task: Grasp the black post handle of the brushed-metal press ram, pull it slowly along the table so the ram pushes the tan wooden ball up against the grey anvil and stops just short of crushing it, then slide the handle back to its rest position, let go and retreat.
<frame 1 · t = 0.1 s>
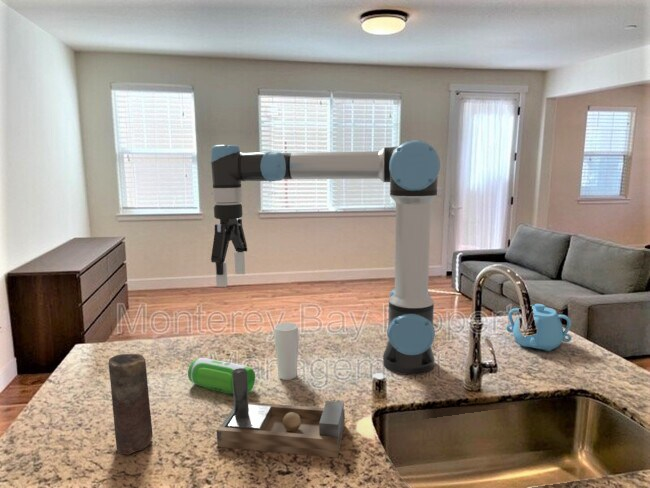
hand: (231, 279, 127), 28 cm above the worktop, fingers open, 13 cm apart
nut: (291, 421, 101), point 3 cm above the worktop, touching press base
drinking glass: (287, 377, 130), on the worktop
decorative pot: (536, 344, 150), on the worktop
candle: (135, 445, 99), on the worktop
ram: (249, 398, 101), point 8 cm above the worktop, slide at 0.0 cm
speaker: (222, 389, 124), on the worktop
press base: (283, 435, 102), on the worktop
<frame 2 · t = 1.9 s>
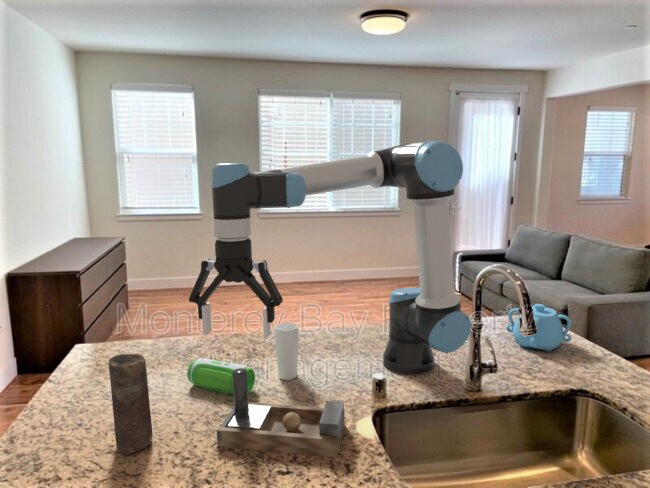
hand: (237, 334, 99), 23 cm above the worktop, fingers open, 13 cm apart
nothing on the worktop moved.
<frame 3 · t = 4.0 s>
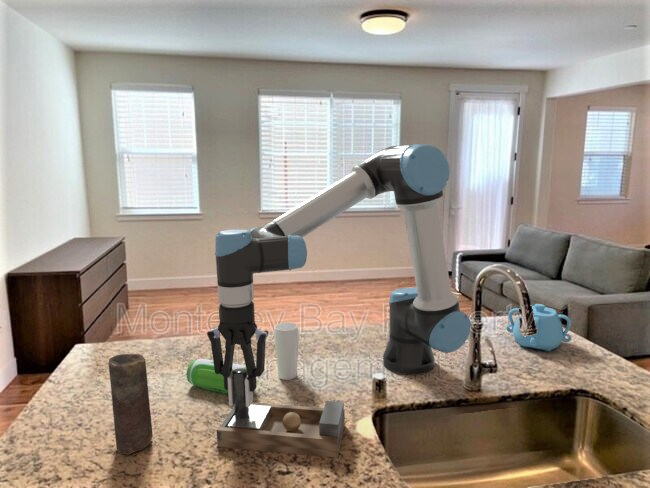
hand: (241, 403, 102), 7 cm above the worktop, fingers closed on ram, 3 cm apart
ram: (249, 398, 101), point 8 cm above the worktop, slide at 0.0 cm, touching gripper
everything else where it was.
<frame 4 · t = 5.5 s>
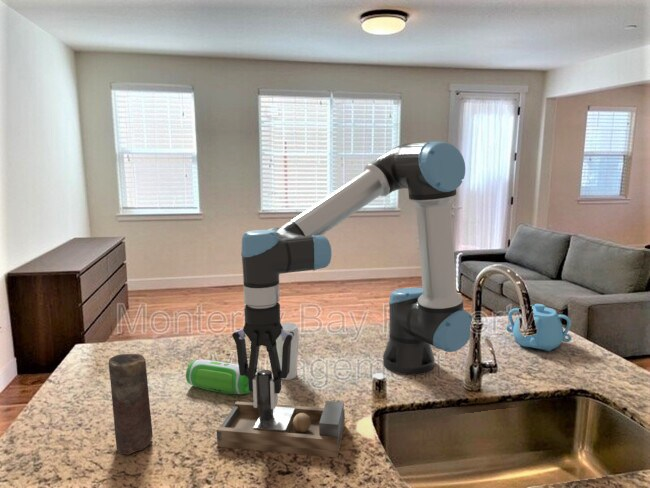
hand: (265, 404, 101), 7 cm above the worktop, fingers closed on ram, 3 cm apart
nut: (301, 422, 100), point 3 cm above the worktop, tilted 64°, touching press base
ram: (274, 400, 101), point 8 cm above the worktop, slide at 5.7 cm, touching gripper
everything else where it was.
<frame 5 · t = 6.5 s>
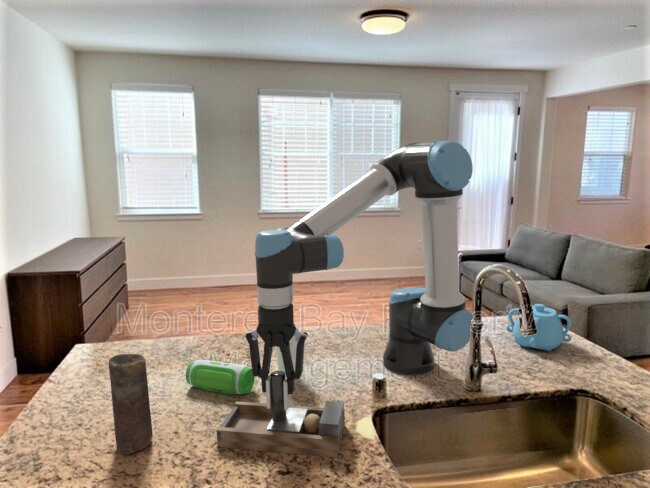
hand: (278, 405, 101), 7 cm above the worktop, fingers closed on ram, 3 cm apart
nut: (312, 423, 100), point 3 cm above the worktop, tilted 132°, touching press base
ram: (287, 401, 100), point 8 cm above the worktop, slide at 8.7 cm, touching gripper
everything else where it was.
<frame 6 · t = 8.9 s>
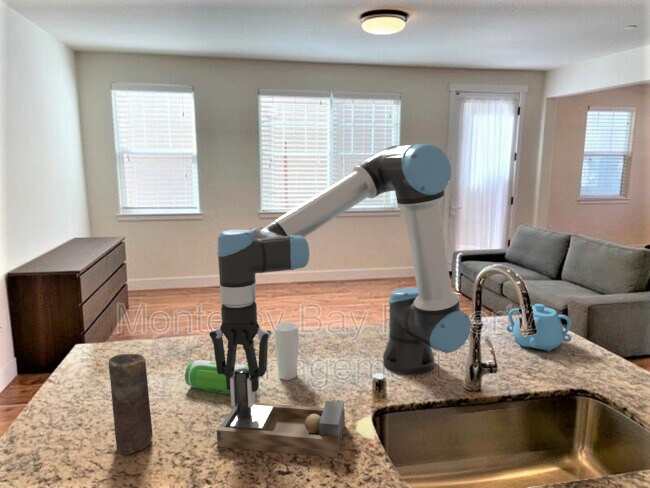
hand: (243, 403, 102), 7 cm above the worktop, fingers closed on ram, 3 cm apart
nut: (314, 423, 100), point 3 cm above the worktop, tilted 142°, touching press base
ram: (251, 399, 101), point 8 cm above the worktop, slide at 0.5 cm, touching gripper
everything else where it was.
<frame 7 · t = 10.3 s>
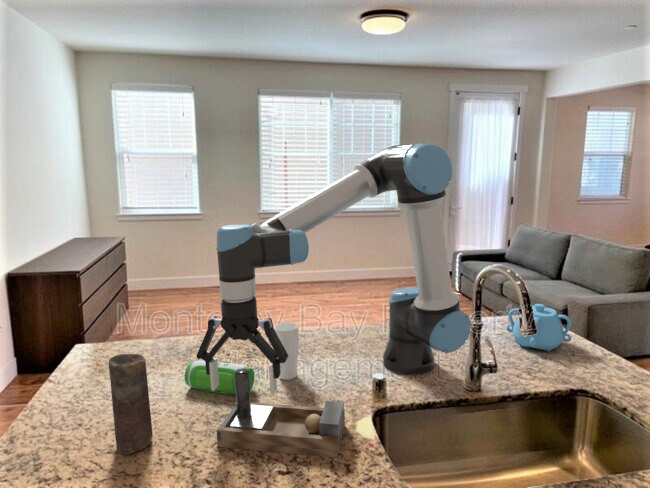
hand: (244, 389, 101), 10 cm above the worktop, fingers open, 13 cm apart
ram: (251, 399, 101), point 8 cm above the worktop, slide at 0.5 cm
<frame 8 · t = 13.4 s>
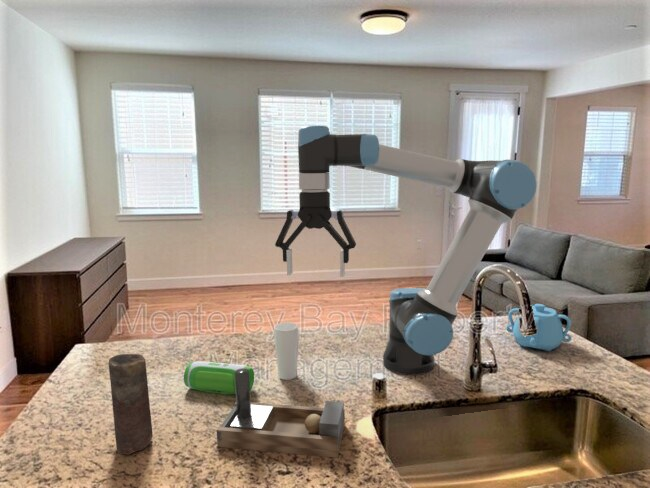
hand: (315, 274, 116), 32 cm above the worktop, fingers open, 13 cm apart
at the end: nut 0.1 cm from the target spot on the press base, point 3.5 cm above the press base's base; ram slide at 0.5 cm; the gripper is holding nothing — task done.
